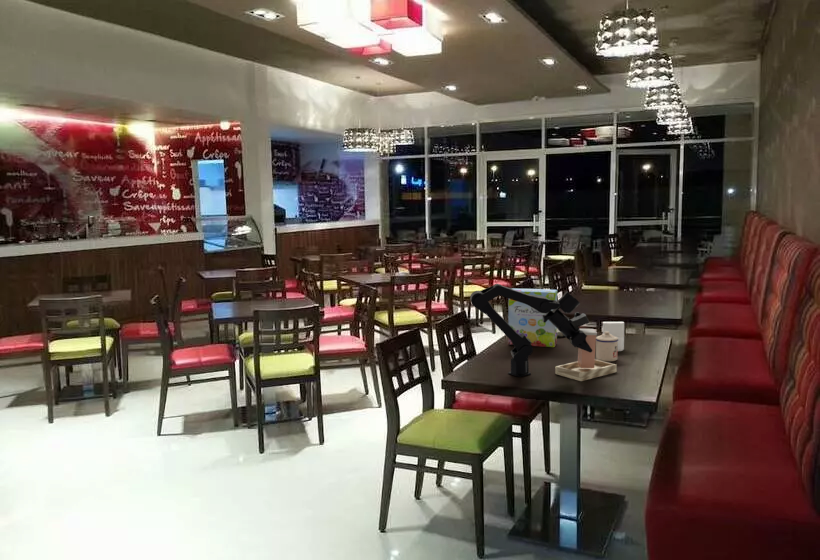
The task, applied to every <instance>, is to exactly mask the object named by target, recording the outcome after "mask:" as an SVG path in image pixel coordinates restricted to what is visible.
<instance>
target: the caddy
mask: <svg viewBox="0 0 820 560" xmlns="http://www.w3.org/2000/svg"><path fill="white" fill-rule="evenodd" d="M578 331H583V332H584V333H585V334H586V335H587V337H586V342H587V343H588V345H589V346H590V347H591V349H592V352H588V351H585V350H583V349H580V348H578V347H577V348H578V349H577V351H578V352H577V361H578V365H579V366H580V367H581V368H594V364H595V359H596V337H597V336H598V332H597V331H596V330H595V329H594V328H580V329H579V330H578Z"/></svg>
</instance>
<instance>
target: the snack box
mask: <svg viewBox="0 0 820 560" xmlns="http://www.w3.org/2000/svg"><path fill="white" fill-rule="evenodd" d="M511 289H514V290H517V291H520V292H523V293H525V294H529V295H538V296H544V297H546V298H548V299H549V300H556V301H558V289H550V288H549V289H545V288H544V289H543V288H516V287H515V288H514V287H513V288H511ZM507 303H508V307H507V308H508V315H507V316H508V317H507V318H508V319H507V320H508V322H507V323H508V324H509V325H510V326H511V327H512V328H513V329H514V330H515V331H516V332H517V333H518V334H520V335H521V334H522V332H523V334H524V335H525V336H526V337H527V338H528V339H530V341H531V342H532V344H531V345H532V347H541V348H542V347H545V348H555V347H556V345H557V339H558V336H557V328H556V327H555V326H554V325H553V324H552V323H551V322H550V321H549V320H547V321H546V322H545V323H544V322H543V321H542V320H543V316H542V315H546V314H547V313H541V312H539V311H537V310H535V309H534V308H532V307H530V306H529V305H527V304H524V303H521V302H518V301H515V300H512V299H509V298H508V302H507ZM553 310H554V309H553ZM551 311H552V310H551ZM507 338H508V337H507ZM507 341H508V343H507V345H513V343H512V342H511V340H510V339H509V338H508V340H507ZM513 346H514V345H513Z"/></svg>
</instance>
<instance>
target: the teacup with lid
mask: <svg viewBox="0 0 820 560" xmlns="http://www.w3.org/2000/svg"><path fill="white" fill-rule="evenodd" d="M618 352H619V351H618V338H617V337H615V336H613V335H611V334H609V332H605V334H603V333H602V334H601V335H596V346H595V359H596V360H600V361H604V362H615V361H617V360H618Z"/></svg>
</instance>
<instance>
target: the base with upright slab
mask: <svg viewBox="0 0 820 560" xmlns="http://www.w3.org/2000/svg"><path fill="white" fill-rule="evenodd" d="M605 332H609V334H611V335H613V336H615V337H617V338H618V352H622V351H624V350H625V322H624V321H603V322H602V334H605Z"/></svg>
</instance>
